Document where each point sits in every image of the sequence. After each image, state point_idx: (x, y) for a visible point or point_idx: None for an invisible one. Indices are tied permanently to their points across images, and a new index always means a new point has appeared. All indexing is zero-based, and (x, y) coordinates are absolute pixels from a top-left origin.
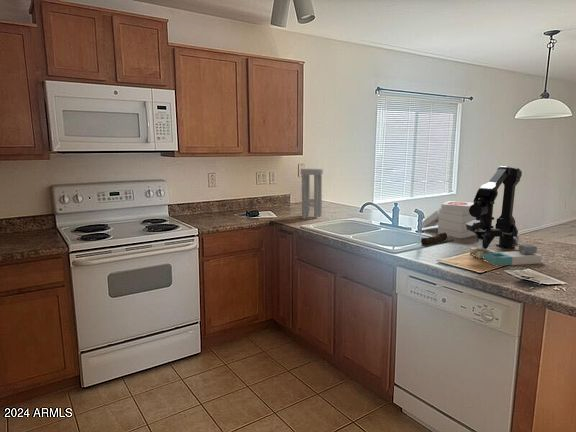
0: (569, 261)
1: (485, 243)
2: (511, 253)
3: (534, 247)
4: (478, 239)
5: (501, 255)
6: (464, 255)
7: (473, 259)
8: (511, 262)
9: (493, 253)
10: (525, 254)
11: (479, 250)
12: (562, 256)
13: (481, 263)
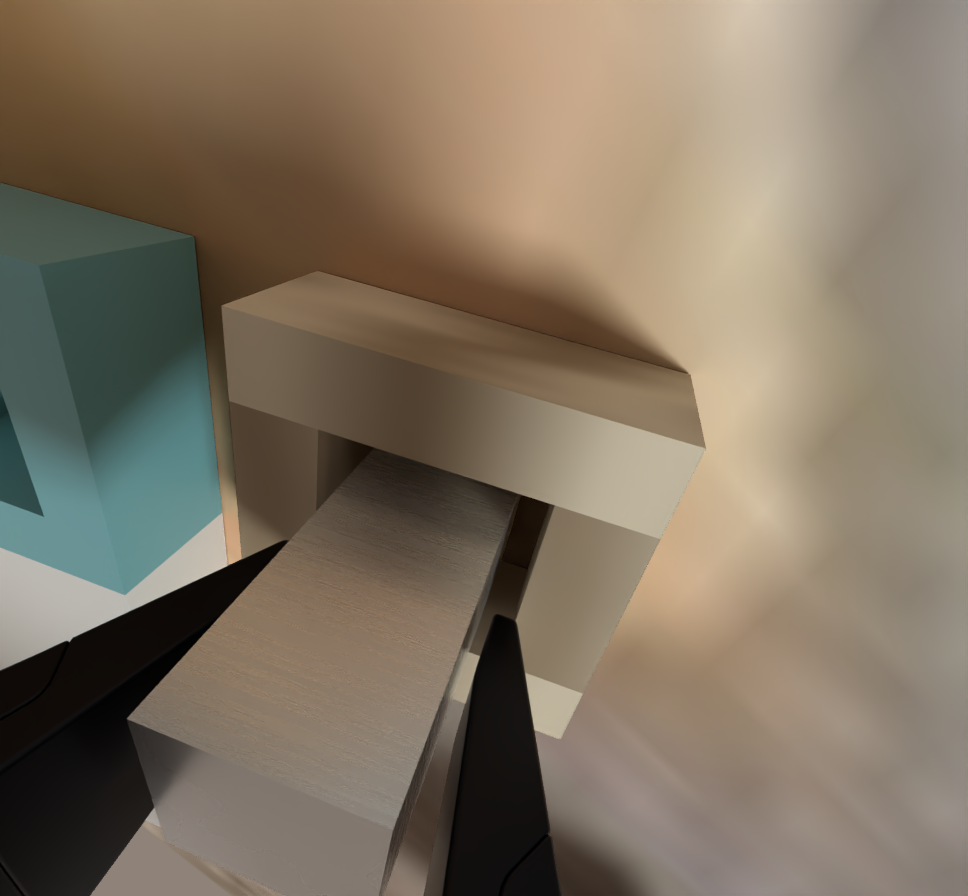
0: (146, 824)
1: (123, 623)
2: (58, 640)
3: None
4: (461, 808)
5: (12, 484)
6: (666, 141)
7: (292, 80)
8: None
9: (25, 425)
10: None
11: (374, 439)
12: (259, 893)
13: (6, 8)
